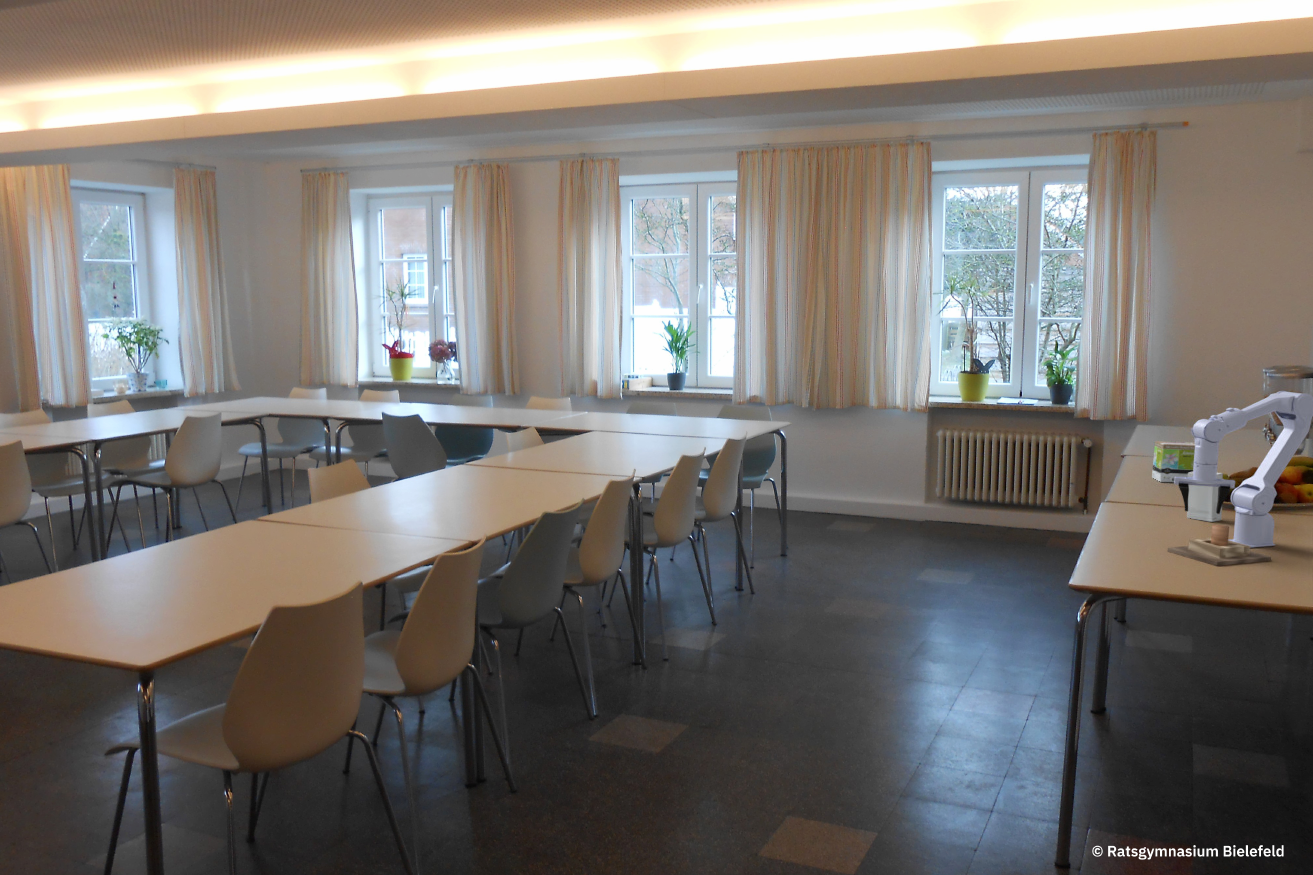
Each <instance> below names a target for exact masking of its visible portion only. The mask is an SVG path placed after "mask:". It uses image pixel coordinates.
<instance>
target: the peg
mask: <svg viewBox="0 0 1313 875" xmlns="http://www.w3.org/2000/svg"><path fill="white" fill-rule="evenodd" d="M1229 535H1230V526H1228V525H1225V524H1211V532H1210V538H1211V544H1213V545H1217V546H1228V540H1229Z"/></svg>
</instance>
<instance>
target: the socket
mask: <svg viewBox="0 0 1313 875" xmlns="http://www.w3.org/2000/svg"><path fill="white" fill-rule="evenodd" d="M1229 540H1230V539H1228V546H1217V545H1213V544H1211V537H1210V538H1198V539H1197V538H1196V539H1189V540H1188V545H1184V546H1182V545H1181V546H1171V547H1167V552H1168V551H1169V552H1168V553H1171V552H1172V554H1175V555H1177V556H1182V557H1186V558H1189V559H1192V560H1196V561H1199V562H1202V563H1206V564H1209V565H1212V566H1215V567H1217V566H1218V567H1219V566H1228V565H1230V566H1231V565H1239V564H1240V565H1242V564H1249V563H1262V562H1270V561H1272V556H1269V555H1266V554H1262V553H1258V552H1254V551H1251V548H1250V546H1248V545H1245V544H1241V543H1237V542H1233V541H1229Z"/></svg>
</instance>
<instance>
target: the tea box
mask: <svg viewBox="0 0 1313 875" xmlns="http://www.w3.org/2000/svg"><path fill="white" fill-rule="evenodd" d="M1194 453H1195V443H1194V442H1192V441H1191V442H1188V441H1167V440H1166V441H1165V440H1164V441H1161V440H1155V441H1154V450H1153V459H1152V460H1153V461H1152V462H1153V463H1152V474H1151V478H1152V479H1153V478H1154V480H1155V479H1156V480H1155V481H1157V480H1158V482H1159V481H1160V482H1159V483H1174V479H1175V477H1188V473H1189V472H1193V467H1194Z"/></svg>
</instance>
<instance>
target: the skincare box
mask: <svg viewBox="0 0 1313 875" xmlns="http://www.w3.org/2000/svg"><path fill="white" fill-rule="evenodd" d="M1223 474H1224V473H1223V472H1217V477H1216V479H1224V478H1223ZM1188 477H1193V472H1189V473H1188ZM1198 484H1204V483H1198ZM1213 485H1214V484H1213ZM1218 488H1219V487H1212V486H1197V485H1189V496H1188V511H1186V519H1190V518H1191V519H1192V520H1196V521H1197V520H1199V521H1204V522H1208V523H1209V522H1212V523H1214V522H1219V521H1222V518H1223V517H1222V514H1223V506H1222V507H1221V510H1220V514H1217V513H1216V508H1217V502H1218ZM1191 519H1190V520H1191Z"/></svg>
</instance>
